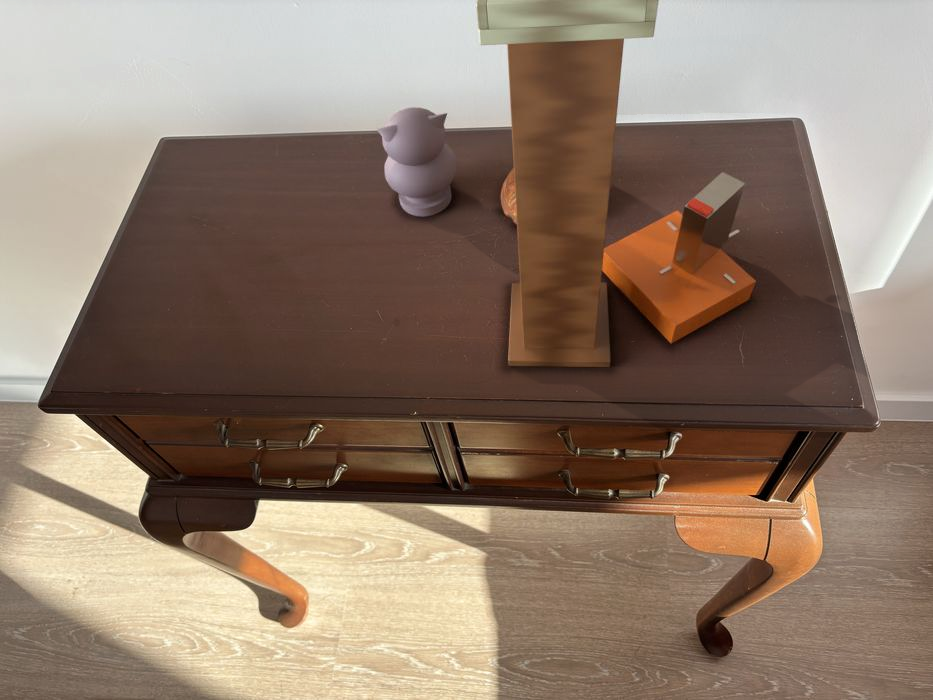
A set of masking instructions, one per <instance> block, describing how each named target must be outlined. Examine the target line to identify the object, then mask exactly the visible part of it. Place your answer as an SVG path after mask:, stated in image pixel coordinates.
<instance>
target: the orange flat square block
mask: <svg viewBox="0 0 933 700" xmlns="http://www.w3.org/2000/svg"><path fill="white" fill-rule="evenodd" d="M682 216H683V213H681V212H680V211H679V210H676V211H674V212H671V213H670V214H668V215H665V216H664V217H662V218H660V219H658V220H656V221H654V222H652V223H651V224H648V225H647V226H644V227H643V228H641V229H638V230H637V231H635V232H633V233H631V234H629V235H627V236H624V237H623V238H622V239H619V240H618V241H616V242H614V243H612V244H610V245H608V246H606V247H604V255H603V265H602V273H603V274H605V276H606V277H607V278H608V279H609V280H610V281H611V282H612V283H613V284H614V285H615V287H616V288H617V289H619V290H620V291H621V292H622V293H623V295H624V296H626V298H627V299H628V300H629V301H630V302H631V303H632V304H633V305H634V306H635V307H636V309H638V311H639V312H640V313H642V315H643V316H644V317H645V318H646V319H647V320H648V321H649V322H650V323H651V324H652V325H653V326H654V328H655V329H656V330H658V332H659V333H660V334H661V335H662V336H663V337H664V338H665V339H666V341H668V343H670V344H673V343H675V342H677V341H679V340H680V339H682V338H684V337H685V336H687V335H689V334H691V333H692V332H694V331H696V330H698V329H699V328H701V327H703V326H705V325H707V324H709V323H710V322H712V321H714V320H715V319H717V318H720V317H721V316H723V315H724V314H726V313H728V312H730V311H731V310H733V309H735V308H736V307H738V306H741V305H742V304H744V303H745V302H747V301H749V300H750V298H751V295H752V293H753V290H754V287H755V286H756V282H757V281H756V279H754V278H753V277H752V276H751V275H750V274H749V273H748V272H746V271H745V270H744V269H743V268H742V267H741V266H740V265H739V264H738V263H736V261H734V260H733V259H732V258H731V257H730V256H729V255H728V254H727V253H726V252H724V251H723V250H722V249H721V248H720V249H719V250H718V251H717V252H716V253H715V254H714V255H713V256H711V257H710V258H709V259H708V260H707V261H706V262H705V263H704V264H703V265H702V266H701V267H700V268H699V269H698V270H697V271H696V272H695V273H694V274H693V275H692V274H690V273H689V272H687V271H685V270H684V269H682V268H680V267H679V266H677V265H675V264H674V263H672V261H673V257H674V252H675V248H676V243H677V239H678V234H679V230H680V225H681V220H682ZM738 234H740V230H739V229H736V230H734V231H732V232H730V234H729V237H728V239H731V238H732V237H734V236H736V235H738Z"/></svg>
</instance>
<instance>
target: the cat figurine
mask: <svg viewBox="0 0 933 700" xmlns="http://www.w3.org/2000/svg"><path fill="white" fill-rule="evenodd" d="M447 116H448V112H446V113H439V114H437V113H435V112H433V111H432V110H429V109H427V108H423V107H415V106H413V107H406V108H403V109H400V110H398V111H397V112H395V113H394V114H393V115H392V116H391V117H390V118H389V119H388V120H387V121H386V122H385V125H384V127H380V128H376V131H377V132H378V133H379V135H380V136H381V139H382V140H381V141H382V146H383V149H384V151H385V152H386V154H387V157H386V160H385V162H384V166H383V167H384V178H385V180H386V182H387V184H388V186H389V187H390V188H391V190H393V191H394V192H395V193H398V199H399V200H398V201H399V203H400V206H401V208H402V210H403V211H405V212H406V213H407V214H409V215H412V216H414V217H423V218H424V217H429V216H430V217H431V216H434V215H436V214H439V213H441V212H442V211H444V210H446V209H447V207H448V206H449V205H450V203H451V201H452V198H453V196H452V189H451V183H452V182H453V180H454V178H455V175H456V173H457V169H458V165H457V164H458V163H457V158H456V154H455V153H454V152H453V150H452V149H451V147H450V146H449V145H448V144H447V143H446V140H447V135H446V128H445V123H446V119H447Z"/></svg>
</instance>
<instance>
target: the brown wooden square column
mask: <svg viewBox="0 0 933 700" xmlns="http://www.w3.org/2000/svg"><path fill="white" fill-rule="evenodd" d="M475 7H476V17H477V28H478V40H479V45H480V46H497V45H498V46H499V45H506V47H507V49H506V50H507V66H508V67H507V68H508V84H509V85H508V86H509V105H510V116H511V117H510V121H511V122H510V123H511V139H512V156H513V157H512V158H513V168H514V178H515V197H516V215H517V225H516V228H517V229H516V231H517V232H516V233H517V248H518V251H517V252H518V268H519V269H518V270H519V282H512V283H511V299H510V315H509V316H510V321H509V334H508V335H509V337H508V338H509V339H508V357H507V363H508V366H509V367H567V368H568V367H569V368H570V367H573V368H574V367H575V368H578V367H579V368H589V367H590V368H610V367H611V344H610V343H611V341H610V322H609V301H608V300H609V298H608V282H602V275H603V274H602V273H603V271H602V265H603V255H604V248H605V245H606V244H605V243H606V234H607V233H606V232H607V222H608V211H609V202H610V201H609V200H610V191H611V182H612V181H611V180H612V170H613V161H614V160H613V159H614V150H615V149H614V148H615V138H616V137H615V136H616V127H617V118H618V108H619V107H618V106H619V95H620V85H621V75H622V63H623V55H624V54H623V53H624V43H625V40H626V39H645V38H646V39H647V38H653V37H654V36H655V31H656V22H657V16H658V9H659V0H476V5H475Z"/></svg>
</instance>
